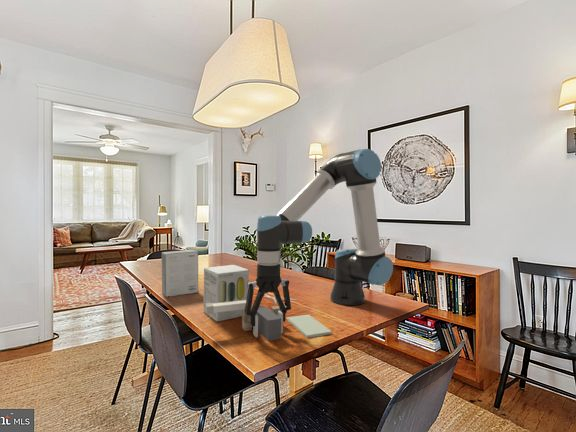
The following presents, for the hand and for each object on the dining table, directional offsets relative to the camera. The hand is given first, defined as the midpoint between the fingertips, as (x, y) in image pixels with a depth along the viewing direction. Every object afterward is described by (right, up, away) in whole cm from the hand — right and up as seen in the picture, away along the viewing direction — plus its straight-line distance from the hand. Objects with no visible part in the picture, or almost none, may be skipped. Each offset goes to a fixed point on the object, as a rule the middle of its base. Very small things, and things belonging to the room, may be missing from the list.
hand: (268, 333), depth 98 cm
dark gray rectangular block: (-1, 0, +2) cm, 3 cm away
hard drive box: (-45, +1, +47) cm, 65 cm away
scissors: (0, 0, +40) cm, 40 cm away
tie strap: (-13, +7, +2) cm, 15 cm away
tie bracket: (-3, 0, +6) cm, 7 cm away
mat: (+13, 0, +7) cm, 15 cm away
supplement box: (-18, 0, +19) cm, 26 cm away
